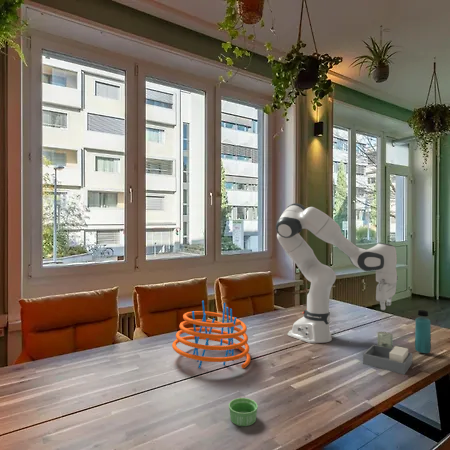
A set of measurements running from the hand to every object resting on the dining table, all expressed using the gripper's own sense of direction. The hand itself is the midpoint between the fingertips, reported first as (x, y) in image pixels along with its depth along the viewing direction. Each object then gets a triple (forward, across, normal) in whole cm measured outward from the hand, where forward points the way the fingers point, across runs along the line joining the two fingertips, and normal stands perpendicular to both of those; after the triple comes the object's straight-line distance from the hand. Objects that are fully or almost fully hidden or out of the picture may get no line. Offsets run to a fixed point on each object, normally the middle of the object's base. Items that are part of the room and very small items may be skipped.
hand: (385, 307), depth 162 cm
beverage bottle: (+21, +9, -14) cm, 27 cm away
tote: (+21, -15, -5) cm, 26 cm away
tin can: (+21, 0, 0) cm, 21 cm away
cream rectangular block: (+20, -15, -9) cm, 27 cm away
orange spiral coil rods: (+20, -58, +57) cm, 84 cm away
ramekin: (+20, -86, +19) cm, 91 cm away
